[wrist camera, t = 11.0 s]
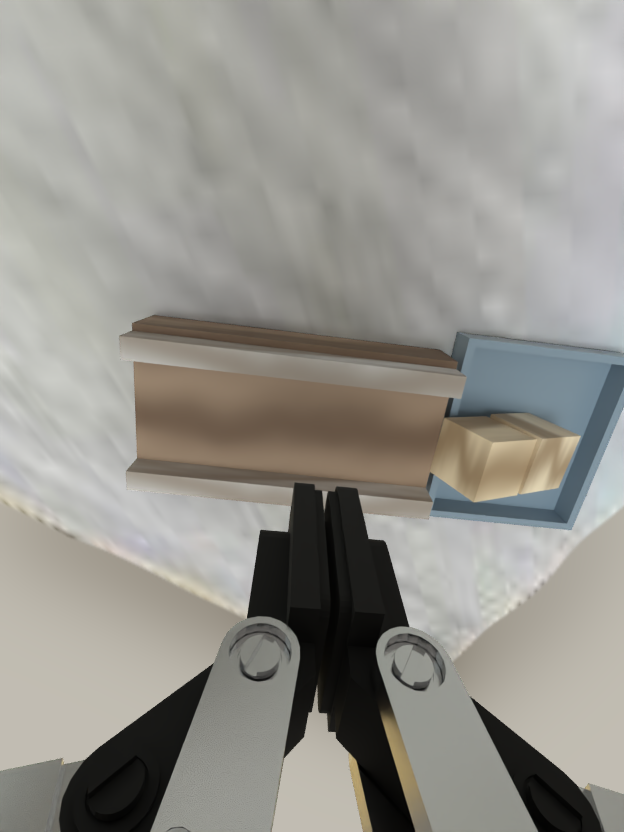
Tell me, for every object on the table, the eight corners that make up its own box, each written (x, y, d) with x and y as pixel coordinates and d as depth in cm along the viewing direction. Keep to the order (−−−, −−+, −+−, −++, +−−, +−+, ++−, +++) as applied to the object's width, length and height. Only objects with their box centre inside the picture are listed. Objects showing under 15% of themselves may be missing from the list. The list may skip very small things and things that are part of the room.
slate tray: (457, 332, 31) (469, 338, 29) (618, 352, 32) (643, 359, 29) (415, 499, 36) (423, 515, 34) (554, 513, 37) (571, 530, 35)
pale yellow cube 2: (542, 438, 27) (580, 436, 29) (491, 413, 31) (528, 412, 33) (520, 494, 29) (558, 488, 31) (473, 464, 32) (510, 460, 34)
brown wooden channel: (153, 315, 30) (118, 327, 25) (440, 349, 31) (468, 369, 26) (156, 457, 35) (127, 495, 29) (408, 483, 36) (427, 525, 30)
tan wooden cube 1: (444, 417, 29) (492, 442, 26) (486, 416, 31) (537, 439, 28) (429, 471, 31) (473, 502, 27) (471, 466, 33) (517, 495, 29)
